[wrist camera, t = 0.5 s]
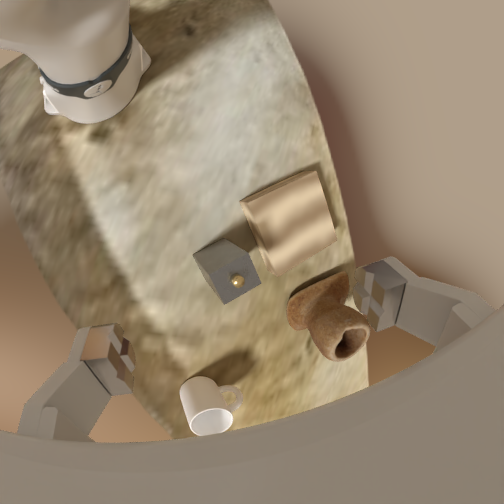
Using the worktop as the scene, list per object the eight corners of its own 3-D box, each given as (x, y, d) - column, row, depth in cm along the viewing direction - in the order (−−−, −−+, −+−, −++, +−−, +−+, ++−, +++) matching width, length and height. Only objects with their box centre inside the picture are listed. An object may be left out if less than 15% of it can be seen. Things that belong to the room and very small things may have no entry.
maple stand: (239, 201, 46) (248, 202, 43) (303, 171, 50) (316, 170, 46) (267, 270, 52) (277, 276, 48) (325, 236, 55) (337, 240, 52)
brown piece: (288, 339, 58) (329, 377, 45) (280, 293, 54) (325, 326, 41) (342, 312, 63) (387, 339, 49) (339, 267, 59) (390, 289, 45)
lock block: (192, 254, 45) (211, 277, 35) (223, 237, 47) (251, 255, 36) (205, 279, 47) (227, 308, 36) (235, 262, 49) (265, 286, 38)
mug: (228, 363, 53) (247, 394, 44) (236, 390, 56) (254, 420, 47) (173, 381, 49) (183, 417, 40) (185, 407, 52) (197, 441, 43)
